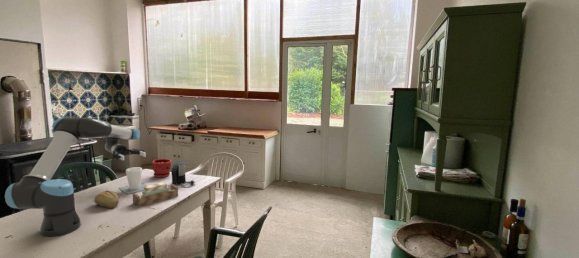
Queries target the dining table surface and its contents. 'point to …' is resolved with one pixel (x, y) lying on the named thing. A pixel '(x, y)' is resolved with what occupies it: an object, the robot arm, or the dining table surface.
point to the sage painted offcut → (155, 192)
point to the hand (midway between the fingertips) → (134, 156)
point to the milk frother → (179, 173)
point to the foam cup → (134, 177)
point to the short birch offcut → (155, 187)
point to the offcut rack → (155, 197)
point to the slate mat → (129, 191)
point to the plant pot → (161, 167)
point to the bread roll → (107, 199)
